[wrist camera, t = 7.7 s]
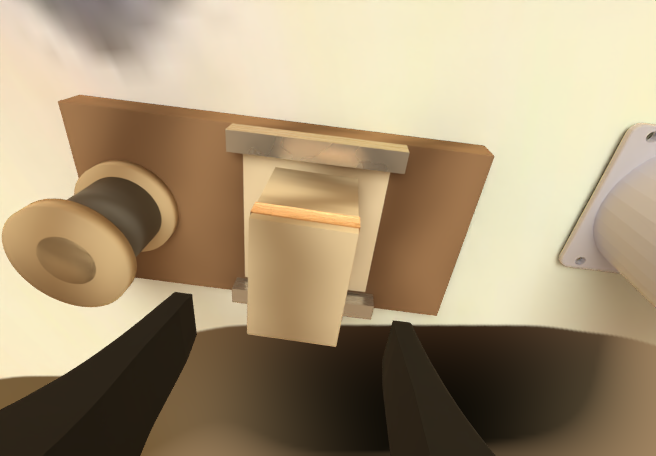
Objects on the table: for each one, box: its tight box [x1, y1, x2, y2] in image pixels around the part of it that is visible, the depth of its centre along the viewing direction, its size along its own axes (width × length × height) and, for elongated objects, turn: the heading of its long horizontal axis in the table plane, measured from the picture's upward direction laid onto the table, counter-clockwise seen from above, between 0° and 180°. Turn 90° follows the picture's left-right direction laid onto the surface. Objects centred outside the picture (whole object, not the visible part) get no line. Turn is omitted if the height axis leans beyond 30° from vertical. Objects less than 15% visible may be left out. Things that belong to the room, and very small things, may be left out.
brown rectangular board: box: [58, 95, 494, 319], centre depth 19 cm, size 20×10×2 cm, turn 84°
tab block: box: [247, 167, 360, 347], centre depth 17 cm, size 4×6×5 cm
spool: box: [2, 160, 179, 307], centre depth 17 cm, size 5×5×5 cm
